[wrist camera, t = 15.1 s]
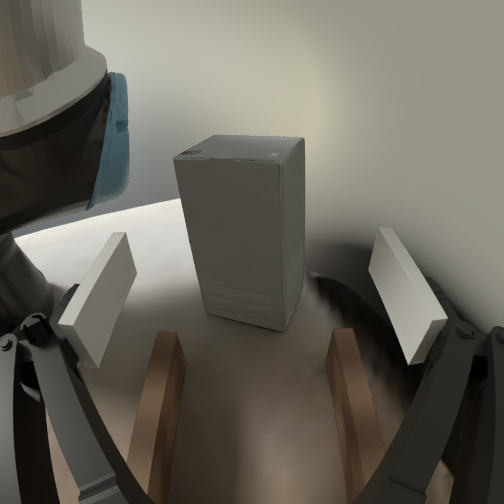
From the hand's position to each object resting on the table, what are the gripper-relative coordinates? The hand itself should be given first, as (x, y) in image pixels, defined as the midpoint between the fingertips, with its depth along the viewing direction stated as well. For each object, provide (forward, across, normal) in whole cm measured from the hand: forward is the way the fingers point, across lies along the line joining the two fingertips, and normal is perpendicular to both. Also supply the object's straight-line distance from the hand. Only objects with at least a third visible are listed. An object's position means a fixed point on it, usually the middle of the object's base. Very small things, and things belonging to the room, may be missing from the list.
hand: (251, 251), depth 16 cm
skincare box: (+9, 0, -13) cm, 15 cm away
